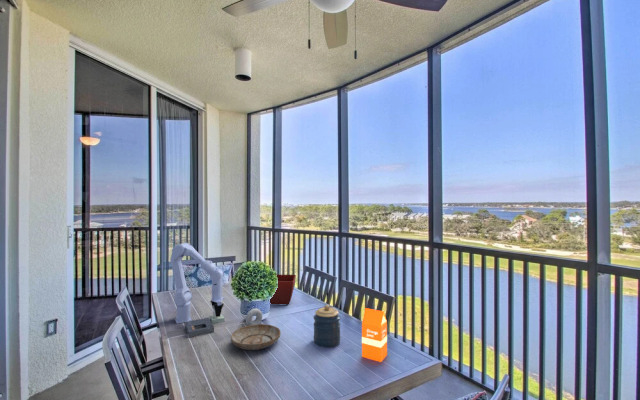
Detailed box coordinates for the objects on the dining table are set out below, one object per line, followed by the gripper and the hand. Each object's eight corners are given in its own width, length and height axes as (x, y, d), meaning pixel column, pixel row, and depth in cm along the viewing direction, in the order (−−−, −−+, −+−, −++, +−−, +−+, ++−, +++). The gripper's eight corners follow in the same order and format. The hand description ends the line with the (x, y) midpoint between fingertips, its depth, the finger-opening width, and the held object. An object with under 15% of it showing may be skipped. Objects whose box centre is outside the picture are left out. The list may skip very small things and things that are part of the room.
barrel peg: (212, 316, 172) (212, 304, 172) (219, 315, 174) (219, 303, 174) (213, 318, 168) (213, 306, 169) (221, 317, 170) (221, 305, 171)
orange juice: (381, 362, 125) (380, 314, 125) (361, 356, 130) (361, 310, 130) (387, 354, 132) (387, 308, 132) (368, 349, 136) (368, 305, 137)
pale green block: (209, 319, 172) (209, 316, 172) (221, 317, 176) (221, 314, 176) (211, 323, 166) (211, 320, 166) (224, 321, 170) (224, 317, 170)
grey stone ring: (247, 330, 157) (247, 311, 157) (244, 328, 159) (244, 310, 160) (263, 325, 164) (263, 307, 164) (260, 323, 166) (260, 305, 167)
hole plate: (185, 326, 163) (185, 321, 163) (208, 322, 169) (208, 317, 169) (189, 337, 149) (189, 332, 149) (214, 332, 155) (214, 327, 155)
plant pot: (293, 307, 194) (293, 281, 195) (263, 307, 195) (264, 281, 195) (295, 298, 213) (295, 274, 214) (269, 298, 214) (269, 274, 214)
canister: (309, 345, 140) (309, 307, 141) (319, 334, 152) (319, 299, 153) (335, 350, 136) (335, 311, 136) (343, 338, 148) (343, 302, 148)
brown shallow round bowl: (288, 336, 150) (288, 326, 150) (265, 359, 128) (265, 347, 128) (248, 330, 158) (248, 321, 158) (220, 350, 135) (220, 339, 136)
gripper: (227, 292, 167) (226, 317, 167) (221, 286, 180) (221, 309, 180) (213, 294, 164) (213, 319, 163) (209, 288, 176) (208, 311, 176)
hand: (216, 314), depth 171 cm, fingers open, 6 cm apart
